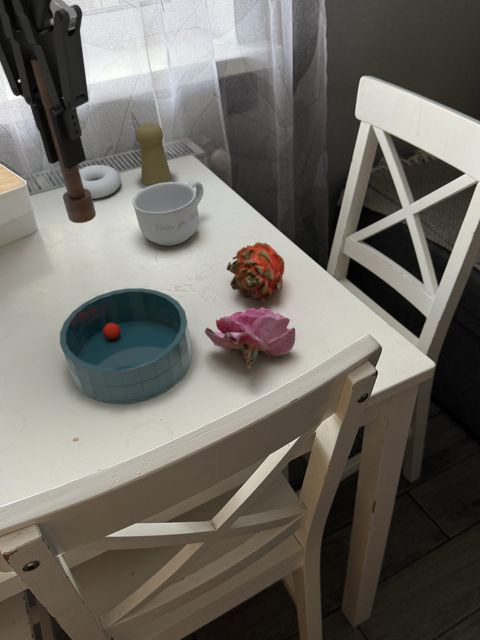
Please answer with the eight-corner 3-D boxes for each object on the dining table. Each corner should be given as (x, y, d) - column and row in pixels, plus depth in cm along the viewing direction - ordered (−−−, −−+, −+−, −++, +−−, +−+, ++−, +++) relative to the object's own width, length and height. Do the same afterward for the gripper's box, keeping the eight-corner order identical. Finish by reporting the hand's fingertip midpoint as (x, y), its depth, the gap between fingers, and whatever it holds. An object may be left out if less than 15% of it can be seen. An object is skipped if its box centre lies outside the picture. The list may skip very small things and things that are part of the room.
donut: (105, 173, 124) (62, 189, 119) (102, 157, 121) (57, 173, 117) (132, 189, 118) (87, 207, 113) (129, 173, 116) (83, 190, 111)
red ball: (111, 345, 84) (110, 339, 86) (124, 335, 84) (123, 329, 86) (99, 333, 83) (99, 327, 85) (113, 322, 83) (112, 317, 85)
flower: (228, 349, 88) (254, 288, 86) (281, 382, 84) (310, 319, 81) (181, 353, 79) (208, 284, 76) (238, 391, 74) (269, 320, 72)
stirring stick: (63, 218, 75) (15, 59, 62) (82, 206, 77) (40, 49, 64) (82, 225, 74) (38, 64, 61) (101, 213, 76) (63, 54, 63)
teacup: (161, 261, 100) (153, 219, 94) (128, 234, 106) (119, 194, 101) (227, 230, 106) (224, 189, 101) (192, 207, 112) (187, 167, 107)
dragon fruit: (258, 325, 90) (250, 286, 99) (303, 291, 87) (290, 255, 97) (221, 288, 85) (216, 252, 95) (267, 252, 83) (257, 218, 93)
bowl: (45, 375, 81) (32, 342, 77) (125, 307, 91) (118, 275, 87) (139, 422, 75) (130, 389, 70) (214, 343, 85) (210, 311, 81)
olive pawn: (144, 188, 118) (134, 134, 111) (140, 174, 123) (130, 122, 115) (174, 183, 119) (166, 129, 112) (169, 170, 124) (161, 117, 116)
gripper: (91, -84, 53) (136, 162, 70) (-20, -94, 59) (46, 135, 76) (27, -70, 49) (91, 190, 65) (-86, -82, 55) (-1, 159, 71)
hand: (67, 160), depth 70 cm, fingers closed on stirring stick, 2 cm apart
